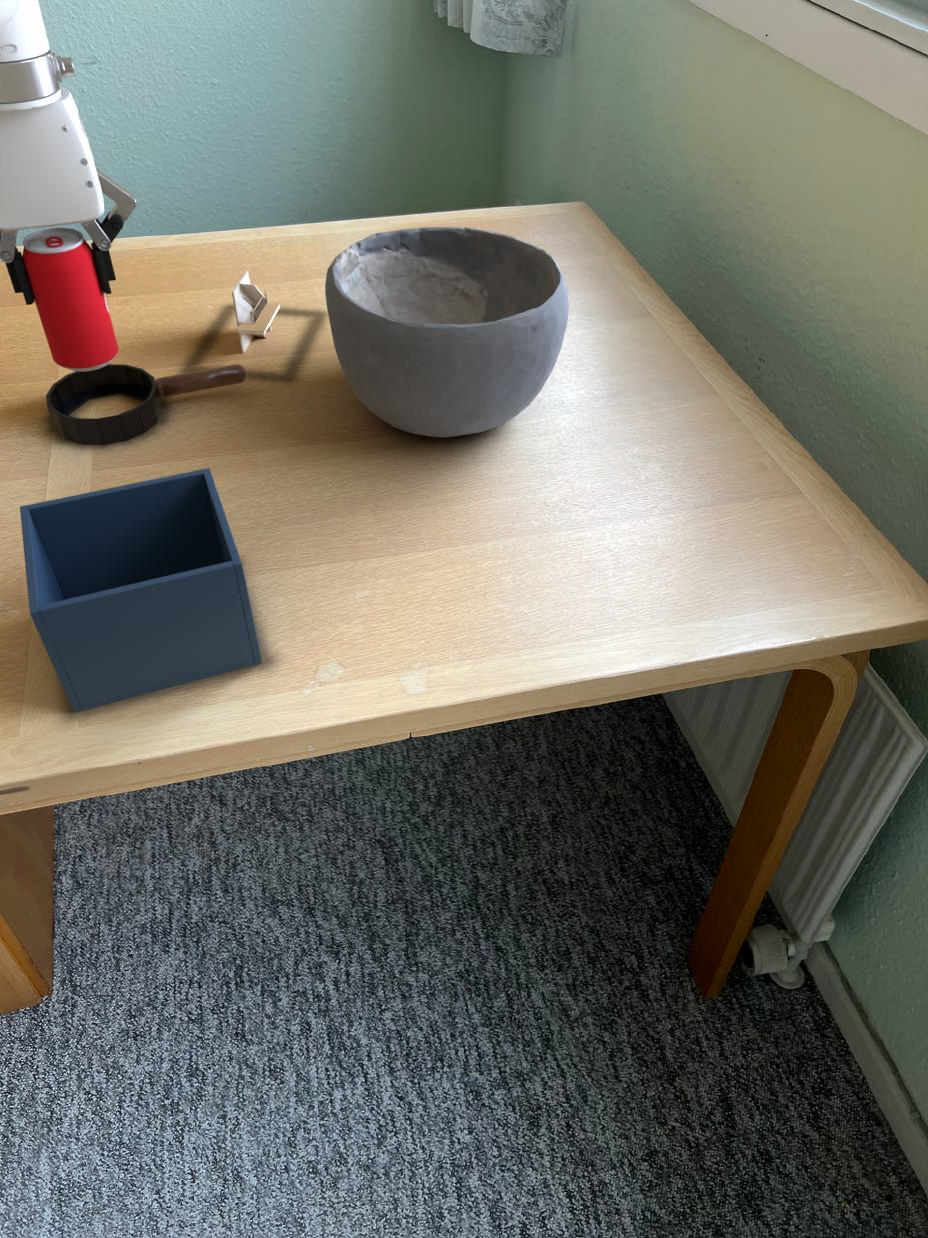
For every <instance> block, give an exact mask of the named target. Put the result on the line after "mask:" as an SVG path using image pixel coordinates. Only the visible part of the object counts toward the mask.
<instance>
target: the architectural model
mask: <svg viewBox="0 0 928 1238" xmlns="http://www.w3.org/2000/svg"><path fill="white" fill-rule="evenodd" d="M231 296H232V302H233V308H234V314H235V319H236V327H237V328H236V333H237V334H238V338H239V344H240V345H239V346H240V350H241V354H245V352H246V350H247V348H248V347H249V345H250V344H251V343H252V340H253V339H254V338H255V337H260V338H264V339H267V332H269V333H270V332H272V327H271V324H272V322H273V320H274V318H275V317H276V315H277V313H278V311H279V310H280V308H281V304H280V303H273V302H269V300H268V292H267V290H264V293H262V292H261V290H260V289H259V288H258V287H257V286H256V284H253V283H251V280H250V273H249V270H245V271H244V273H243V274H242V276H241V278H240V279H239V281H238V282H237V284H236V286H235V287H234V288H233V290H232V291H231Z"/></svg>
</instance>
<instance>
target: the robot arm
mask: <svg viewBox="0 0 928 1238" xmlns="http://www.w3.org/2000/svg"><path fill="white" fill-rule="evenodd" d="M68 77H76V71H75V67H74V63H73V59H72V57H71V56H70V57H68V56H67V57H62V55H56V53H55V52H52V51H51V47H50V44H49V39H48V35H47V31H46V27H45V23H44V20H43V15H42V11H41V7H40V3H39V0H0V262H3V263H5V266H6V269H7V272H8V275H9V279H10V281H11V285H12V288H13V290H14V294H21V293H22V295H23V298H24V301H25V304H26V306H30V305H33V304H34V303H35V300H34V297H33V294H32V291H31V287H30V284H29V281H28V278H27V275H26V271H25V268H24V265H23V261H22V255H23V253H22V251H19V249H18V248H17V237H18V231H22V230H23V231H24V230H30V229H32V230H33V229H42V228H51V227H57V226H59V227H60V226H65V225H74V224H80V225H81V226H82V228H83V229H84V230H85V232H86V234H88V236H89V237H90V239H91V241H92V242H91V243H90V247H91V248H92V250H93V254H94V258H95V262H96V266H97V269H98V273H99V277H100V281H101V285H102V289H103V293H104V294H105V295H111V294H113V293H112V289H111V284H110V282H113V281H117V277H116V274H115V269H114V264H113V261H112V257H111V254H110V250H111V247H112V243H113V242H114V241H115V239H116V238H117V236H118V235H119V233H120V232H121V231H122V230H123V228H124V225H125V223H126V221H127V220H128V219H129V218H130V216H131V215H132V213H133V212H134V210H135V209H136V207H137V205H138V204H137V200H136V198H135V196H134V195H133V194H132V193H131V192H130V191H128V190H127V189H125V188H124V187H123V186H122V185H120V184H119V183H117V182H116V181H115V180H114V179H112V178H110V177H109V176H107V175H106V174H105V173H104V172H102V171H101V170H99V168H97V166H96V163H95V160H94V155H93V152H92V149H91V145H90V142H89V139H88V135H87V132H86V129H85V126H84V123H83V120H82V116H81V114H80V112H79V109H78V107H77V104H76V102H75V100H74V97H73V95H72V93H71V91H70V89H68V88H67V87H63V86H60V83H63V80H65V79H67V78H68ZM103 195H105V196H106V197H108V198H109V199H110V200H112V201H114V205H113V207H112V209H111V210H109V212H108V213H107V214H106V215H105V217H104V219H103V220H102V222H101V221H100V217H102V216H103V215H104V213H105V203H104V202H105V201H104V196H103Z"/></svg>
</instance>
